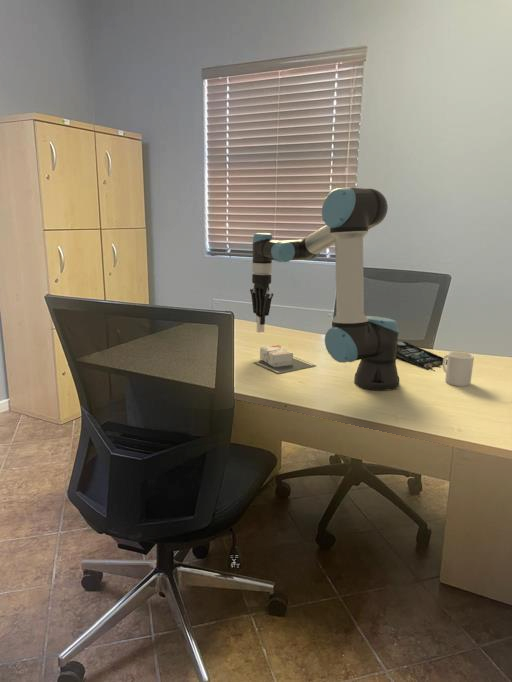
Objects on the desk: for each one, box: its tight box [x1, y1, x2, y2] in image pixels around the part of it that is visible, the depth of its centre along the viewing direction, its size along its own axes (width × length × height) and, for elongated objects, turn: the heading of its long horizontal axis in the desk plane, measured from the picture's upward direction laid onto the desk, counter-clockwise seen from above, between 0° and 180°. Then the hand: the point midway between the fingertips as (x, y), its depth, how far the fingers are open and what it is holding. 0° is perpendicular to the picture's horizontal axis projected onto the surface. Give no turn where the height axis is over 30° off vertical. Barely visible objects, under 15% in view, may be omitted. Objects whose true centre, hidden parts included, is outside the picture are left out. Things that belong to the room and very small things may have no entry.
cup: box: [442, 351, 475, 388], centre depth 182 cm, size 8×12×10 cm
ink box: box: [259, 344, 294, 367], centre depth 202 cm, size 9×5×12 cm
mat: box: [252, 356, 317, 375], centre depth 200 cm, size 16×18×1 cm
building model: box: [396, 340, 448, 372], centre depth 208 cm, size 14×7×30 cm
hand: (260, 331), depth 210 cm, fingers closed
